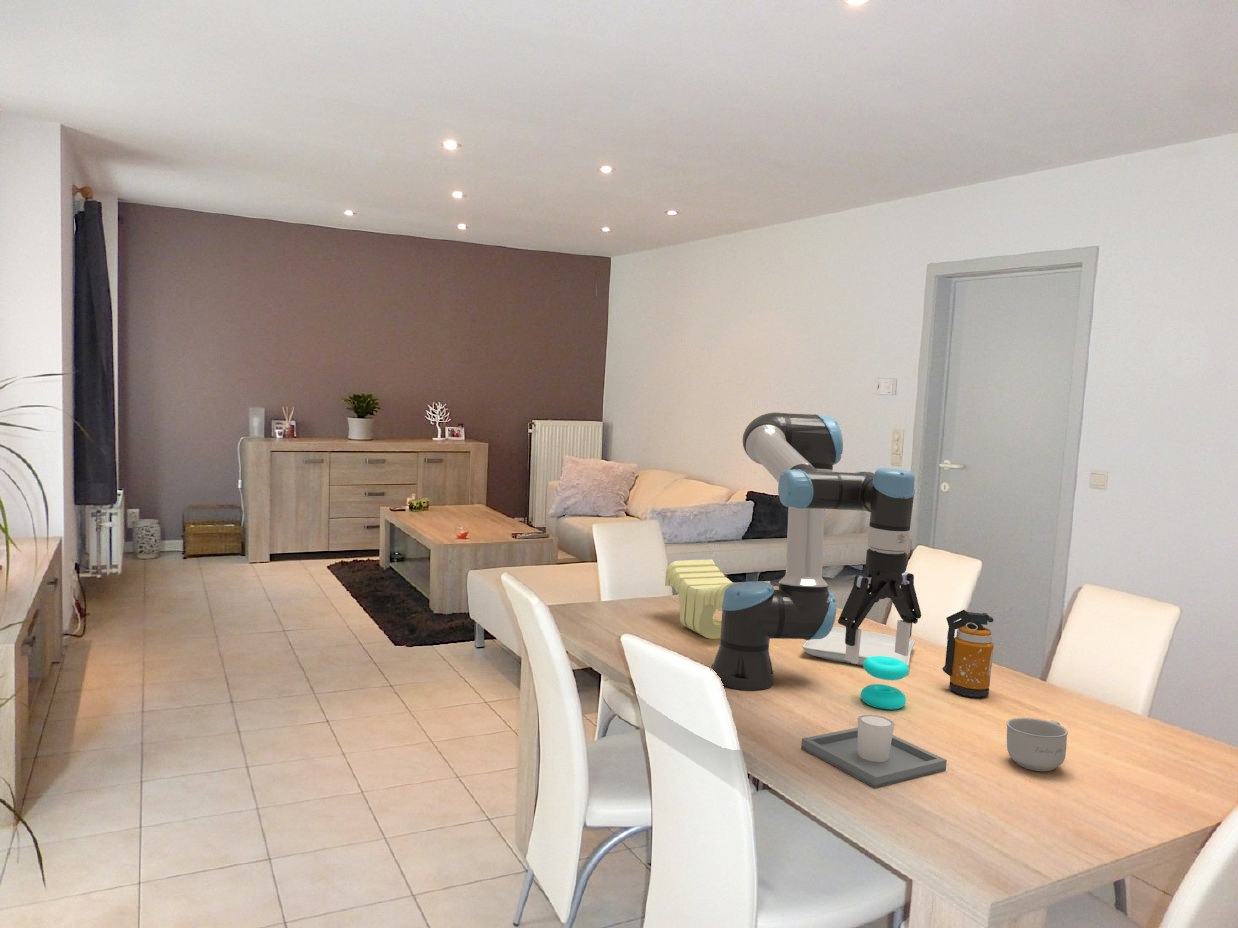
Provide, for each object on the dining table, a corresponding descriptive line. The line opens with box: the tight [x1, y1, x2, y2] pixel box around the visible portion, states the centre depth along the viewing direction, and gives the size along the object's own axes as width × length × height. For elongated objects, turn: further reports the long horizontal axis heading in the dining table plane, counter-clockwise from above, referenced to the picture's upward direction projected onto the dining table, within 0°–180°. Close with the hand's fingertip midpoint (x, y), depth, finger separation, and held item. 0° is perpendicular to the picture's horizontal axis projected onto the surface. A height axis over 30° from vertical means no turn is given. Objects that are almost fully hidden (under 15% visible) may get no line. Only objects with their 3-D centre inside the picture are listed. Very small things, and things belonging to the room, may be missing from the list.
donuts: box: [860, 656, 910, 710], centre depth 206 cm, size 10×10×10 cm
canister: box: [941, 609, 995, 698], centre depth 217 cm, size 9×11×20 cm
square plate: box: [802, 626, 916, 667], centre depth 245 cm, size 27×27×4 cm
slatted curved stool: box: [664, 558, 771, 640], centre depth 258 cm, size 30×16×18 cm, turn 26°
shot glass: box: [857, 714, 895, 762], centre depth 173 cm, size 7×7×7 cm
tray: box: [800, 726, 948, 789], centre depth 173 cm, size 19×19×2 cm
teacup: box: [1006, 717, 1069, 772], centre depth 176 cm, size 14×11×8 cm
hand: (876, 657), depth 174 cm, fingers open, 13 cm apart
